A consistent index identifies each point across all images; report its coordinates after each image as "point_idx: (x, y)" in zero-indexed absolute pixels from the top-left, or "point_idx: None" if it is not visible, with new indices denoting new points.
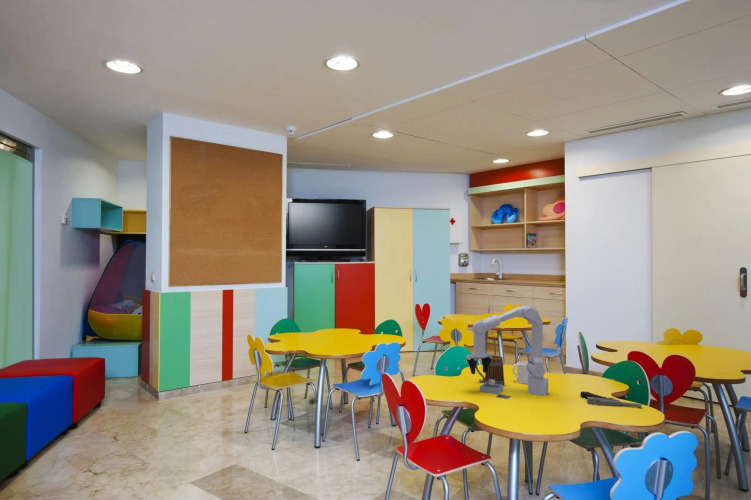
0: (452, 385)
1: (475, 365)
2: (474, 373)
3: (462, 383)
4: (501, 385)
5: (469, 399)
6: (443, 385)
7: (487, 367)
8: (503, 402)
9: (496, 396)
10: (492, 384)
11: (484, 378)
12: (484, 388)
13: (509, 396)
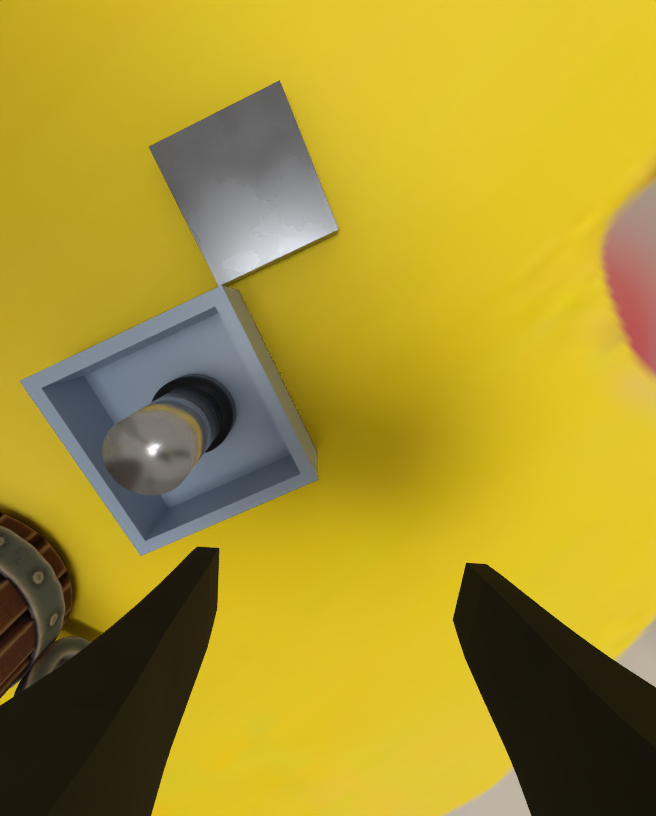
0: (340, 697)
1: (615, 703)
2: (486, 569)
3: (225, 707)
4: (48, 394)
5: (550, 355)
6: (400, 719)
7: (153, 612)
8: (359, 92)
9: (316, 234)
10: (191, 408)
11: (34, 669)
12: (296, 428)
13: (181, 151)
